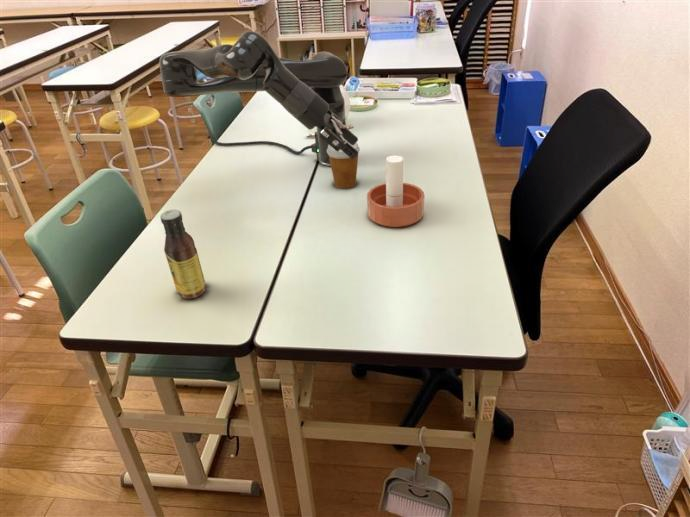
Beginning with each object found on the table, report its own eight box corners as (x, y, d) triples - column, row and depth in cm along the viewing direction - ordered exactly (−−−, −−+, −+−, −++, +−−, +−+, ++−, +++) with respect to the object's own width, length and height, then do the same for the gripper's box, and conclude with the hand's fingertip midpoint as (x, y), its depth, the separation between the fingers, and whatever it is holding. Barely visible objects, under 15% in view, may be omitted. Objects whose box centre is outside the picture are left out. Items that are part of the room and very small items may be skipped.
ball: (352, 98, 201) (340, 50, 180) (359, 150, 190) (346, 106, 169) (309, 107, 203) (291, 61, 182) (313, 159, 192) (295, 116, 171)
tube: (401, 216, 135) (402, 162, 126) (385, 215, 135) (384, 162, 127) (403, 208, 138) (404, 155, 130) (387, 207, 139) (387, 155, 130)
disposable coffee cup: (366, 179, 156) (364, 141, 149) (353, 193, 149) (351, 153, 142) (337, 175, 159) (335, 137, 153) (323, 188, 152) (320, 149, 146)
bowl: (356, 218, 137) (355, 198, 133) (389, 197, 146) (388, 177, 142) (402, 235, 129) (403, 213, 125) (433, 211, 138) (434, 191, 134)
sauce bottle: (180, 284, 116) (158, 206, 105) (208, 282, 116) (189, 203, 105) (175, 302, 111) (150, 222, 100) (204, 300, 111) (183, 219, 100)
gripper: (297, 106, 129) (346, 148, 134) (291, 126, 117) (344, 171, 123) (317, 84, 125) (365, 127, 131) (312, 102, 114) (366, 149, 119)
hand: (355, 149), depth 127 cm, fingers open, 8 cm apart
